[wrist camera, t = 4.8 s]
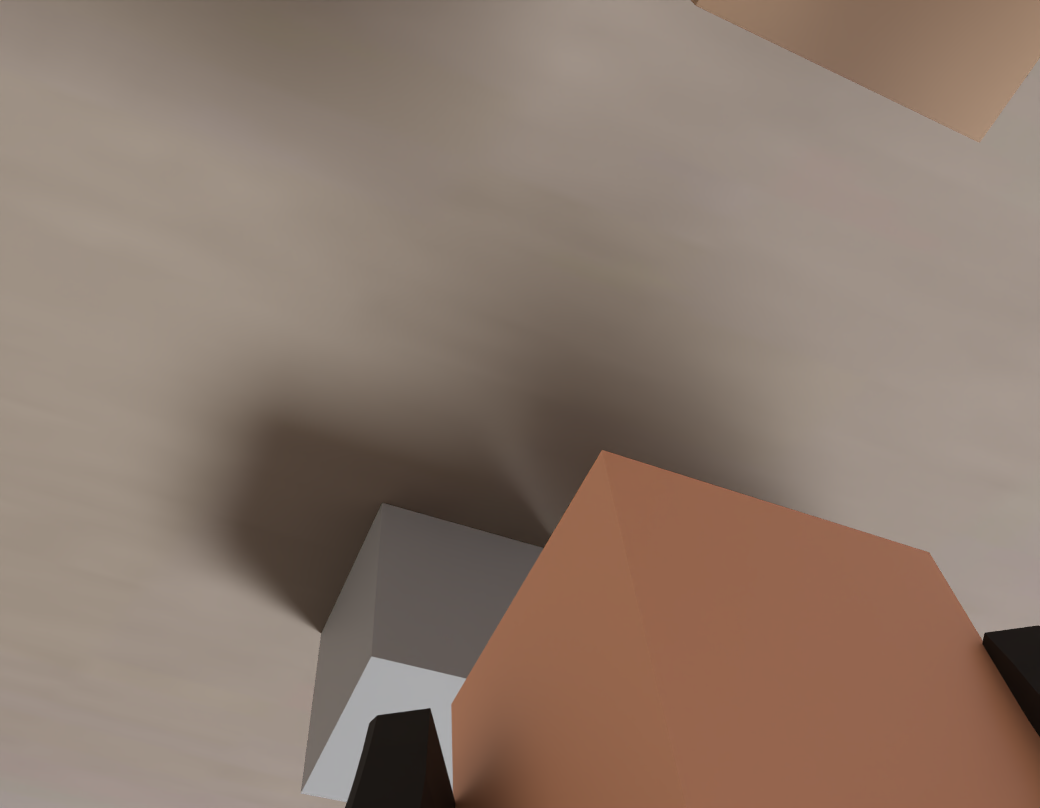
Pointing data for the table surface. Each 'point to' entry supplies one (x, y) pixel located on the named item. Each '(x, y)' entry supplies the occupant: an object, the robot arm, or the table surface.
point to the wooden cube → (908, 48)
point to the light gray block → (406, 634)
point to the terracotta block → (733, 666)
